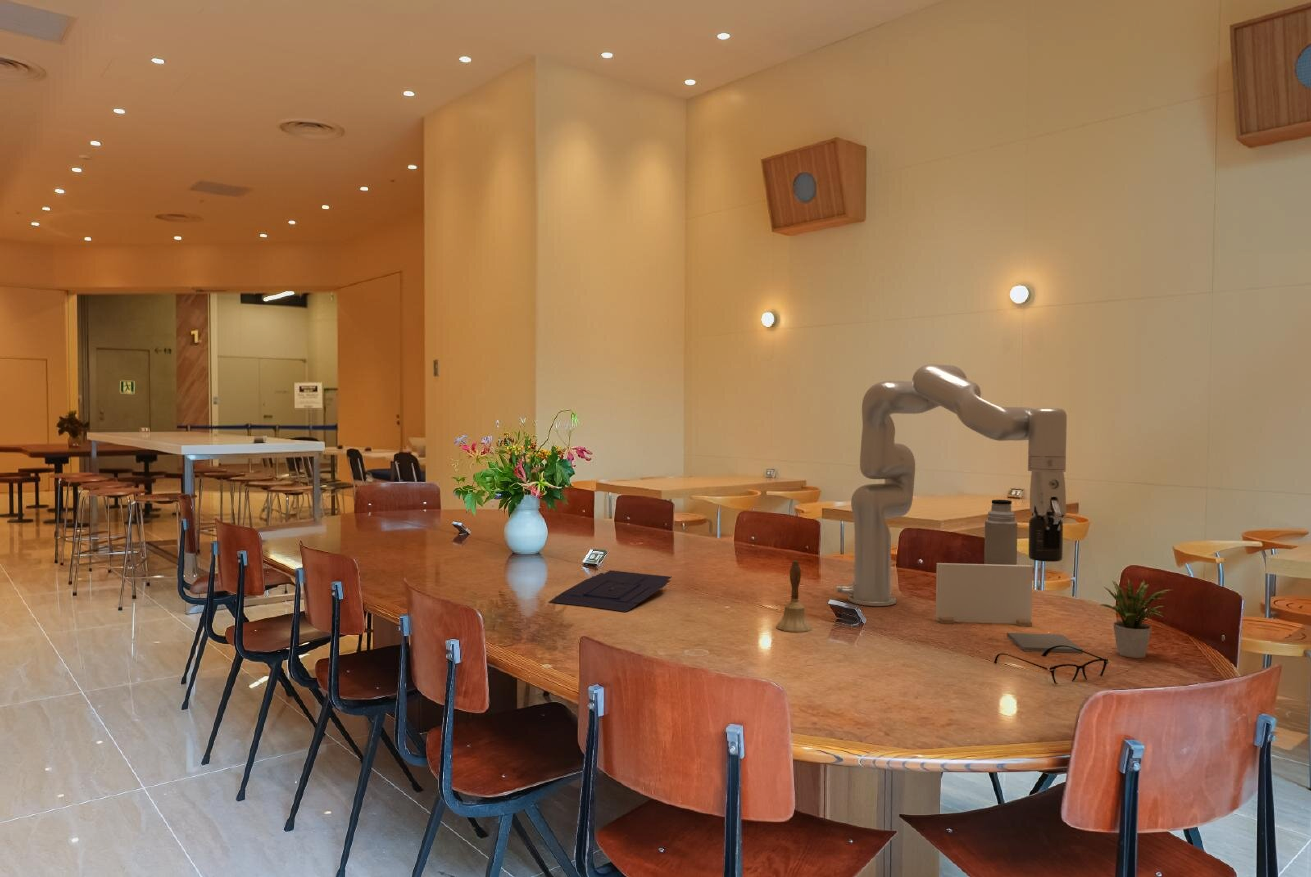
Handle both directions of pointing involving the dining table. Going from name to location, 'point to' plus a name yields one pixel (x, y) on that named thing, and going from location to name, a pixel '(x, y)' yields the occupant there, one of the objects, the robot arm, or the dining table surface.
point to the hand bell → (794, 606)
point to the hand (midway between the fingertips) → (1045, 544)
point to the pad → (1043, 642)
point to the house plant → (1133, 620)
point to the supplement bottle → (1036, 541)
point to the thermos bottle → (1001, 534)
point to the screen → (984, 593)
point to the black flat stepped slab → (613, 590)
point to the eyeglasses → (1064, 664)
